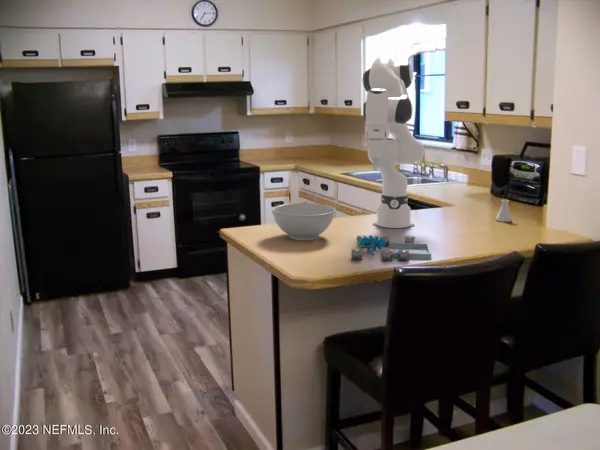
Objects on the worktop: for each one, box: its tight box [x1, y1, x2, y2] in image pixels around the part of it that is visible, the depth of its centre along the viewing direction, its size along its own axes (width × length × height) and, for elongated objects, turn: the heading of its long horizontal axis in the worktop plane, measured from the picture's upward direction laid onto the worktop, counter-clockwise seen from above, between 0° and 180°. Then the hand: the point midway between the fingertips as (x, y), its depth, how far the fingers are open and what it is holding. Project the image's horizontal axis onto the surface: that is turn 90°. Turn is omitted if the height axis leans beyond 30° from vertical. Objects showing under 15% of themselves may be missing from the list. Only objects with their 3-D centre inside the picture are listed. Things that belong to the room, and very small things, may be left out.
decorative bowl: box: [271, 202, 337, 241], centre depth 260 cm, size 27×27×12 cm
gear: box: [356, 234, 386, 256], centre depth 236 cm, size 11×6×10 cm
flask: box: [494, 199, 513, 223], centre depth 292 cm, size 7×7×10 cm
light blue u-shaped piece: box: [389, 241, 432, 260], centre depth 236 cm, size 16×15×2 cm
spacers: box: [350, 234, 416, 263], centre depth 237 cm, size 26×24×4 cm
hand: (375, 169), depth 235 cm, fingers open, 7 cm apart
